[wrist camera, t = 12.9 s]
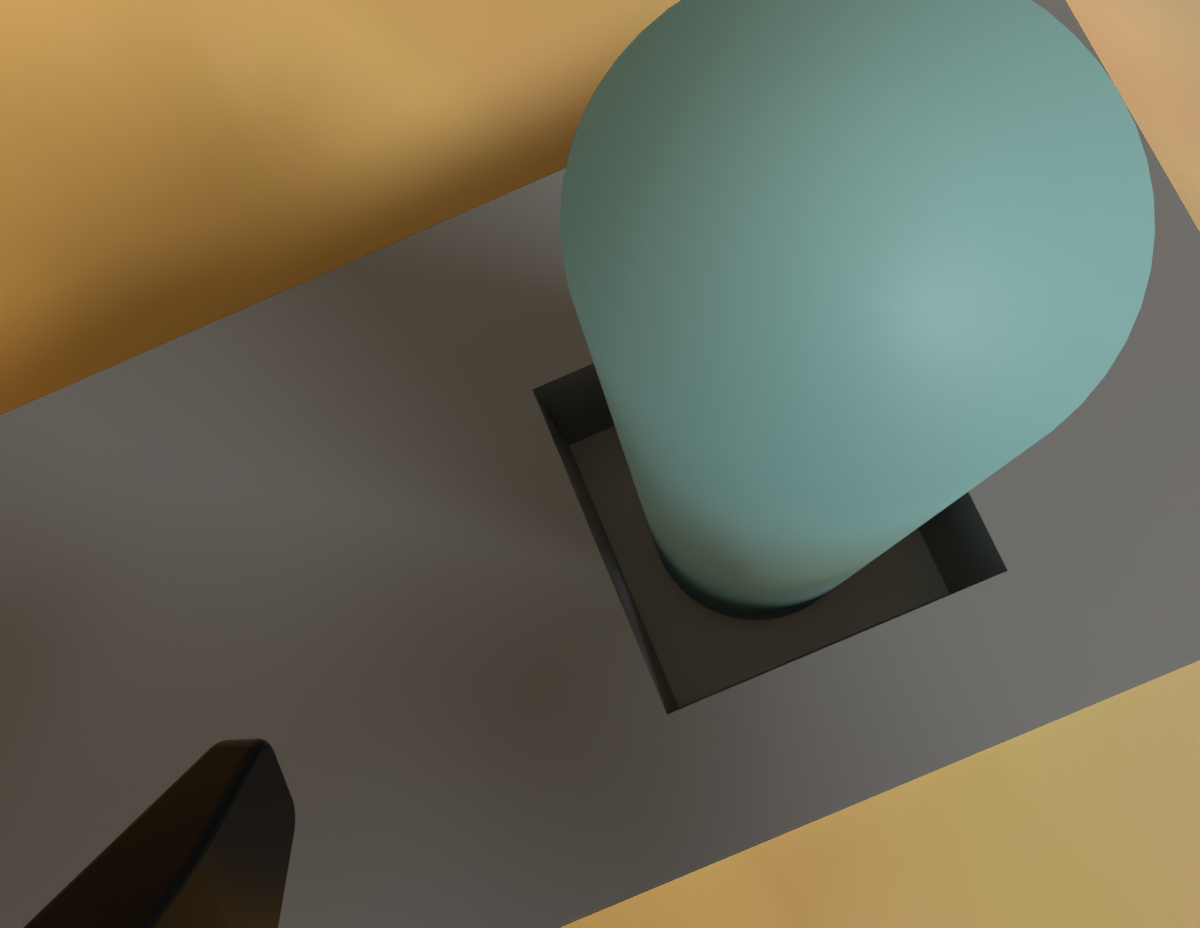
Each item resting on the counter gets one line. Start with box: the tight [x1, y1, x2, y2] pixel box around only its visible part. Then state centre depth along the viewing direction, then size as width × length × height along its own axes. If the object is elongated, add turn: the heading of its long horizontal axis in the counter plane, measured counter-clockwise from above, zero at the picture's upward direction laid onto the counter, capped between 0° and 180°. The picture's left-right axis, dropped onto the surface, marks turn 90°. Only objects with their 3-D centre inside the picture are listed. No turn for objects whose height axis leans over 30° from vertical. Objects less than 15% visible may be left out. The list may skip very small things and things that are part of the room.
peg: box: [560, 0, 1155, 620], centre depth 13 cm, size 4×4×13 cm
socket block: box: [0, 0, 1200, 928], centre depth 18 cm, size 10×20×4 cm, turn 113°
